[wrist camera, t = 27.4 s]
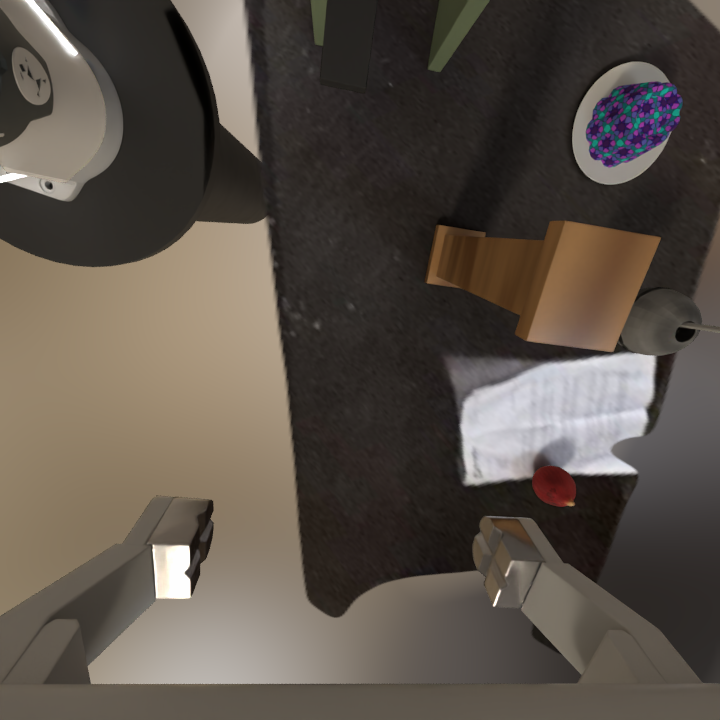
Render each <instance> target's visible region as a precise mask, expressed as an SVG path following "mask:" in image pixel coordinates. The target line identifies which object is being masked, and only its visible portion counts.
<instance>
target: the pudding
mask: <svg viewBox="0 0 720 720" xmlns="http://www.w3.org/2000/svg"><path fill="white" fill-rule="evenodd" d="M682 103H683V100H682V97H681V96H680V95H678V94H677V88H676V87H675V85H674V84H671V83H670V82H669V80H668V79H667V77H666V76H665V75H664V73H663V72H662V71H660V70H659V69H658V68H657V67H655V66H653V65H651V64H649V63H644V62H629V63H624V64H621V65H619V66H617V67H614V68H612V69H611V70H609V71H608V72H606V73H605V74H604V75H603V76H601V77H600V78H599V79H598V80H597V81H596V82H595V83H594V84H593V86H592V87H591V88H590V89H589V90H588V92H587V94H586V95H585V97H584V98H583V100H582V102H581V104H580V107H579V109H578V111H577V114H576V118H575V121H574V126H573V132H572V144H573V151H574V155H575V158H576V161H577V163H578V165H579V167H580V169H581V170H582V171H583V172H584V173H585V175H586V176H588V177H589V178H590V179H592V180H594V181H596V182H598V183H602V184H607V185H610V184H619V183H624V182H626V181H629V180H631V179H633V178H635V177H637V176H638V175H640V174H641V173H643V172H644V171H645V170H646V169H647V168H649V167H650V165H651V164H652V163H653V162H654V161H655V160H656V159H657V157H658V156H659V154H660V153H661V152H662V150H663V148H664V146H665V145H666V143H667V141H668V138H669V136H670V133H671V131H673V130H674V129H675V128H676V126H677V125H678V123H679V120H680V114H679V112H680V110H681V108H682Z"/></svg>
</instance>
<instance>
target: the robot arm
mask: <svg viewBox="0 0 720 720" xmlns="http://www.w3.org/2000/svg"><path fill="white" fill-rule="evenodd" d="M122 137H123V114H122V108H121V104H120V100H119V97H118V94H117V91H116V89H115V86H114V84H113V82H112V80H111V78H110V77H109V75H108V73H107V72H106V70H105V68H104V67H103V66H102V64H101V63H100V62H99V60H98V59H97V58H96V57H95V56H94V55H93V53H92V52H91V51H90V50H89V49H88V48H87V47H85V46H84V45H83V44H82V43H81V42H80V41H79V40H78V39H76V38H75V37H74V36H73V35H72V34H71V33H70V32H69V30H68V29H67V28H66V26H65V24H64V23H63V21H62V19H61V18H60V16H59V14H58V13H57V11H56V10H55V8H54V7H53V6H52V4H51V3H50V2H49V1H48V0H0V183H1V182H8V183H11V184H14V185H17V186H20V187H23V188H26V189H29V190H32V191H35V192H38V193H41V194H43V195H46V196H49V197H52V198H55V199H58V200H62V201H72V200H74V199H75V198H76V197H77V195H78V194H79V192H80V191H81V189H82V187H83V185H84V184H85V183H86V182H87V181H88V180H90V179H91V178H93V177H95V176H97V175H99V174H100V173H102V172H103V171H104V170H106V169H107V168H108V167H109V166H110V164H111V163H112V162H113V160H114V159H115V157H116V155H117V154H118V151H119V149H120V146H121V142H122ZM50 183H52V185H53V189H51V188H50ZM212 513H213V501H212V500H209V499H197V498H185V497H168V496H156V497H154V498H153V499H152V500H151V502H150V503H149V505H148V506H147V508H146V509H145V511H144V512H143V513H142V515H141V516H140V518H139V520H138V521H137V522H136V524H135V526H134V527H133V528H132V530H131V531H130V533H129V534H128V536H127V537H126V539H125V540H124V542H123V543H122V544H115V545H113V546H112V547H110V548H109V549H107V550H105V551H104V552H102V553H100V554H99V555H97V556H96V557H94V558H93V559H91V560H89V561H88V562H86V563H85V564H83V565H81V566H80V567H78V568H77V569H75V570H73V571H72V572H70V573H69V574H67V575H65V576H64V577H62V578H60V579H59V580H57V581H56V582H54V583H52V584H51V585H49V586H48V587H46V588H44V589H43V590H41V591H39V592H38V593H36V594H35V595H33V596H32V597H30V598H28V599H27V600H25V601H23V602H22V603H20V604H19V605H17V606H15V607H14V608H12V609H11V610H9V611H8V612H6V613H4V614H3V615H1V616H0V720H720V683H702V682H701V680H700V679H699V678H698V677H697V676H696V674H695V673H694V672H693V671H692V669H691V668H690V667H689V666H688V664H687V663H686V662H685V661H684V659H683V658H682V657H681V656H680V655H679V653H678V652H677V651H676V650H675V648H674V647H673V646H672V645H671V643H670V642H669V641H668V640H667V639H666V637H665V636H664V635H663V634H662V632H661V631H660V630H659V629H657V628H656V627H655V626H653V625H652V624H651V623H649V622H648V621H647V620H645V619H644V618H642V617H641V616H639V615H638V614H637V613H635V612H634V611H633V610H631V609H630V608H629V607H627V606H626V605H624V604H623V603H622V602H620V601H619V600H618V599H616V598H615V597H614V596H612V595H611V594H609V593H608V592H606V591H605V590H604V589H602V588H601V587H600V586H598V585H597V584H596V583H594V582H593V581H591V580H590V579H589V578H587V577H586V576H584V575H583V574H582V573H580V572H579V571H578V570H576V569H575V568H573V567H572V566H571V565H569V564H564V563H563V562H562V560H561V559H560V558H559V556H558V555H557V553H556V552H555V550H554V549H553V548H552V546H551V545H550V543H549V542H548V540H547V539H546V537H545V536H544V535H543V533H542V532H541V530H540V529H539V527H538V526H537V524H536V523H535V522H534V521H533V520H532V519H530V518H512V517H493V516H484V517H483V518H482V519H481V521H480V524H479V527H480V529H481V532H480V533H479V534H478V535H476V536H475V538H474V542H473V558H474V562H475V565H476V567H477V570H478V571H479V572H480V573H481V574H483V575H484V576H485V577H486V578H485V581H484V586H485V588H486V591H487V593H488V595H489V598H490V600H491V602H492V605H493V606H494V607H507V608H522V609H521V610H522V612H523V613H524V614H525V615H526V616H527V617H528V618H529V619H530V620H531V621H532V622H533V623H534V624H535V625H536V627H537V628H538V629H539V630H540V631H541V632H542V633H543V634H544V635H545V636H546V637H547V638H548V639H549V641H550V642H551V643H552V644H553V645H554V646H555V647H556V648H557V649H558V650H559V651H560V652H561V653H562V655H564V657H565V658H566V659H567V660H568V661H569V662H570V663H571V664H572V665H573V666H574V667H575V668H576V670H577V671H578V672H579V673H580V674H581V675H582V676H581V677H580V679H579V681H578V683H577V684H91V683H90V677H89V672H88V665H89V664H90V663H91V662H92V661H93V660H94V659H95V658H97V657H98V656H99V655H100V654H101V653H102V652H103V651H104V650H105V649H106V648H107V647H108V646H109V645H110V644H111V643H112V642H113V641H114V640H115V639H116V638H117V637H118V636H119V635H120V634H121V633H122V632H123V631H125V629H127V628H128V627H129V626H130V625H131V624H132V623H133V622H134V621H135V620H136V619H137V618H138V617H139V616H140V615H141V614H142V613H143V612H144V611H145V610H146V609H147V608H149V607H150V606H151V604H153V603H154V602H155V599H156V598H158V599H159V598H160V599H164V598H165V599H166V598H191V596H192V594H193V591H194V589H195V586H196V583H197V581H198V578H199V576H200V564H201V563H202V562H203V561H204V560H205V559H206V558H207V555H208V552H209V549H210V545H211V541H212V536H213V522H212V521H211V519H210V518H211V515H212Z"/></svg>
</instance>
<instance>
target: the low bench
mask: <svg viewBox="0 0 720 720" xmlns="http://www.w3.org/2000/svg"><path fill="white" fill-rule="evenodd" d="M489 1H490V0H439V5H438V11H437V16H436V22H435V28H434V33H433V39H432V45H431V50H430V56H429V62H428V68H427V69H428V70H433V71H437V72H441V70H442V69H443V67H444V66H445V65H446V63H447V62H448V60H449V59H450V57H451V56H452V54H453V53H454V51H455V50H456V49H457V47H458V46H459V44H460V43H461V41H462V40H463V38H464V37H465V35H466V34H467V33H468V31H469V30H470V28H471V27H472V25H473V24H474V22H475V21H476V19H477V18H478V17H479V15H480V14H481V12H482V11H483V9H484V8H485V6H486V5H487V4H488V2H489ZM326 6H327V0H311V9H312V20H313V30H314V40H315V45H320V46H323V39H324V28H325V17H326Z"/></svg>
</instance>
